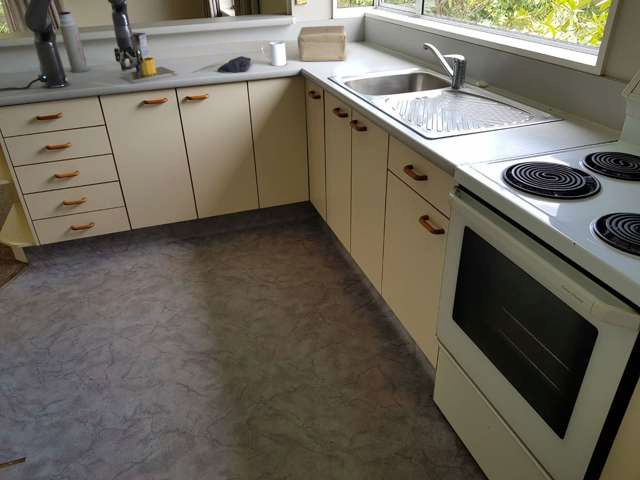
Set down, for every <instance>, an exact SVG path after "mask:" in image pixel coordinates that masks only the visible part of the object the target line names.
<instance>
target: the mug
mask: <svg viewBox="0 0 640 480" xmlns="http://www.w3.org/2000/svg"><path fill="white" fill-rule="evenodd" d="M285 45H286V44H285V42H284V41H271V42H269V45H268V44H262V45H261V48H260V49H261V53H262V55H263V56H264V57H265V58H267V59H268V60H270V65H271V66H274V67H280V66H281V67H282V66H285V65H286V64H287V62H286V61H287V60H286V46H285ZM264 47H267V48H269V56H268V55H267V54H266V53H265V52H264V50H263V49H264Z"/></svg>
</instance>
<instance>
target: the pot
mask: <svg viewBox="0 0 640 480" xmlns="http://www.w3.org/2000/svg"><path fill="white" fill-rule="evenodd" d="M135 65H136V64H133V65H130V64H129V65H128V66H127V65H126V70H128V71H129V70H132V69H136V67H135ZM140 66H141V72H140V73H138V74H140V75H150V74H155V73H156V72H157V71H156V68H157V67H156V60H155V57H151V56H149V57H145V58H143V63H141V64H140Z"/></svg>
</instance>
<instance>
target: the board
mask: <svg viewBox="0 0 640 480" xmlns="http://www.w3.org/2000/svg"><path fill="white" fill-rule="evenodd" d="M156 71H157V72H156V73H155V74H150V75H140V74H138V73H137V72H136V70H135V71H130V72H124V73H120V76H123V77H124V78H126V79H129V80H131V81H135V80H142V79H146V78H152V77H157V76H163V75H167V74H168V75H169V74H172V73H175V71H174V70H172V69H169V68H166V67H163V66H158V67H156Z"/></svg>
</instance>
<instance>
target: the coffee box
mask: <svg viewBox="0 0 640 480" xmlns="http://www.w3.org/2000/svg"><path fill="white" fill-rule="evenodd" d="M132 34H133V39H134V44H135V45H134V48H135V50H138V49H140V50H141V54H142V58H145V57H150V51H149V46H148V40H147V35H146V32H133V31H132ZM134 58H135V57H134ZM128 62H129V66H130V65H133V64H135V63H134V62H133V61H132V60H131V59H128Z"/></svg>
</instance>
